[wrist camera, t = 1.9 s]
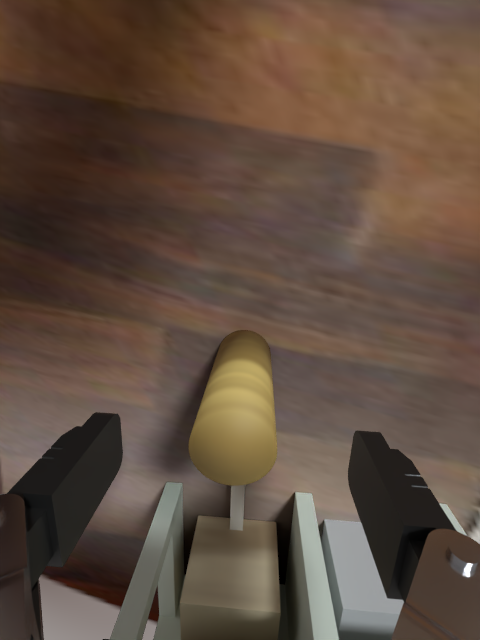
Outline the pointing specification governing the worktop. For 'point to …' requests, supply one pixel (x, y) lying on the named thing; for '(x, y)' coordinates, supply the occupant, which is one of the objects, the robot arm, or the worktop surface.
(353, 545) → the plain grey block
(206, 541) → the block
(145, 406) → the worktop surface
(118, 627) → the shelf cubby
